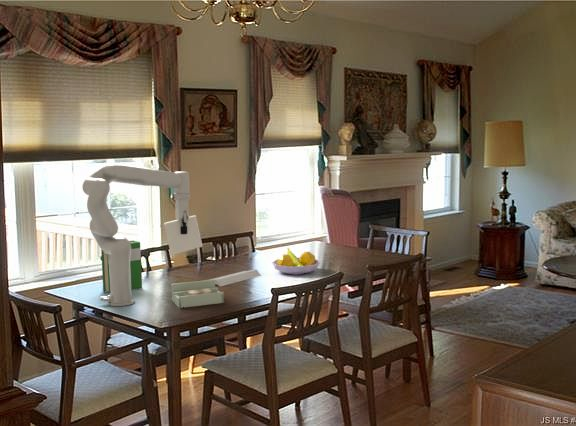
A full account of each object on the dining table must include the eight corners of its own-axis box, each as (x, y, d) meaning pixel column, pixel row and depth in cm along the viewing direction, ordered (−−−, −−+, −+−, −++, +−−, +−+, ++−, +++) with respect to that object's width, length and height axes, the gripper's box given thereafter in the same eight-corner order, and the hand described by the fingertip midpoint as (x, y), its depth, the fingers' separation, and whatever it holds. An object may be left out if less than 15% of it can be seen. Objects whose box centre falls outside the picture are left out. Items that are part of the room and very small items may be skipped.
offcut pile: (189, 306, 306) (188, 293, 305) (185, 303, 311) (185, 290, 310) (214, 303, 311) (213, 290, 310) (210, 300, 316) (209, 288, 315)
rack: (179, 307, 303) (178, 290, 302) (171, 300, 316) (171, 283, 315) (223, 302, 311) (223, 285, 310) (214, 295, 324) (214, 279, 323)
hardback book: (109, 294, 331) (107, 246, 328) (103, 291, 337) (100, 244, 334) (142, 288, 342) (140, 242, 339) (135, 285, 348) (133, 240, 345)
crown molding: (245, 274, 375) (245, 267, 375) (261, 277, 368) (261, 270, 367) (204, 284, 351) (204, 277, 351) (221, 287, 344) (220, 280, 343)
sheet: (171, 254, 329) (164, 223, 326) (170, 254, 331) (163, 223, 328) (202, 246, 334) (196, 215, 331) (201, 245, 336) (195, 215, 333)
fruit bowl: (321, 276, 362) (320, 256, 361) (271, 277, 363) (270, 256, 361) (319, 266, 390) (319, 247, 389) (273, 267, 391) (272, 247, 389)
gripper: (171, 195, 335) (172, 232, 337) (178, 198, 320) (179, 236, 322) (185, 194, 337) (187, 231, 340) (193, 197, 323) (194, 235, 325)
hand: (183, 233), depth 331 cm, fingers closed on sheet, 2 cm apart
